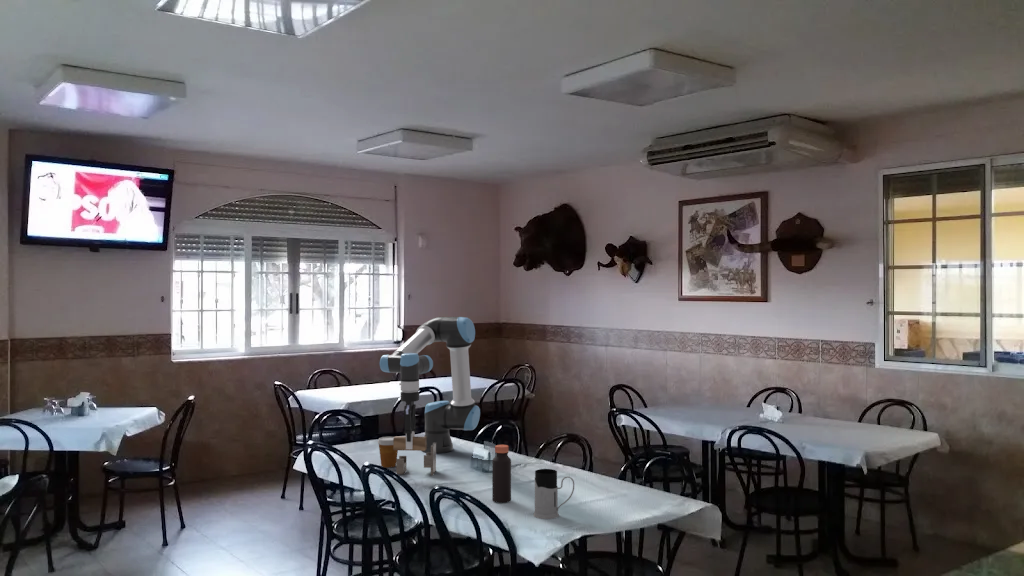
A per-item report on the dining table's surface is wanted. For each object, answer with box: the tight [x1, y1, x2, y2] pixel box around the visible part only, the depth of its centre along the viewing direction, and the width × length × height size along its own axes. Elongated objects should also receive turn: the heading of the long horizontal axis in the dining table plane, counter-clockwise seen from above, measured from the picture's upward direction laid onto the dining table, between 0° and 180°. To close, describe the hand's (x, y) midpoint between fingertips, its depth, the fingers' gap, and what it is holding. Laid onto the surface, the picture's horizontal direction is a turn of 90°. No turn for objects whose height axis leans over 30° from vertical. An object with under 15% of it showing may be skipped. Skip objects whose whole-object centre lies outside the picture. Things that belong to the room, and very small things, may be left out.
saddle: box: [395, 455, 408, 476], centre depth 329 cm, size 7×3×6 cm, turn 177°
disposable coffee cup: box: [377, 436, 399, 468], centre depth 341 cm, size 10×10×12 cm
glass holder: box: [532, 468, 575, 520], centre depth 266 cm, size 9×14×15 cm, turn 73°
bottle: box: [491, 444, 512, 504], centre depth 285 cm, size 7×7×20 cm
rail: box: [393, 435, 427, 452], centre depth 321 cm, size 4×13×5 cm, turn 86°
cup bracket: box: [423, 443, 437, 476], centre depth 328 cm, size 8×4×12 cm, turn 177°
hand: (410, 447), depth 321 cm, fingers closed on rail, 3 cm apart
